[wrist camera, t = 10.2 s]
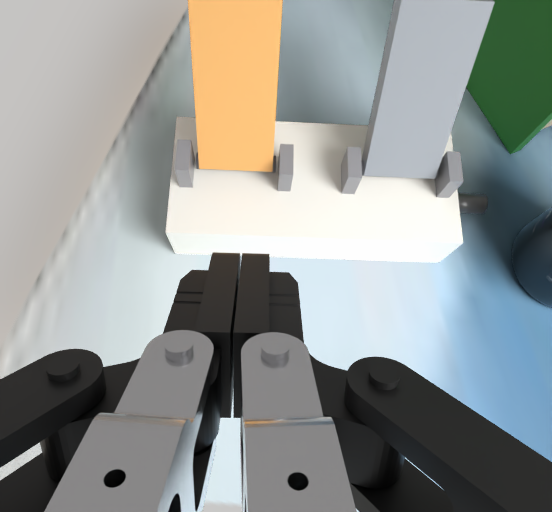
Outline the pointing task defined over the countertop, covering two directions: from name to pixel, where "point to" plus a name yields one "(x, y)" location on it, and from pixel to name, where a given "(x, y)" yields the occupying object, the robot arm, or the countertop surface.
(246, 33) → the orange switch
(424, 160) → the grey switch
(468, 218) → the countertop surface
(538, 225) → the supplement bottle
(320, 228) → the power strip
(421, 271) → the countertop surface
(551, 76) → the green cereal box
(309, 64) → the countertop surface
